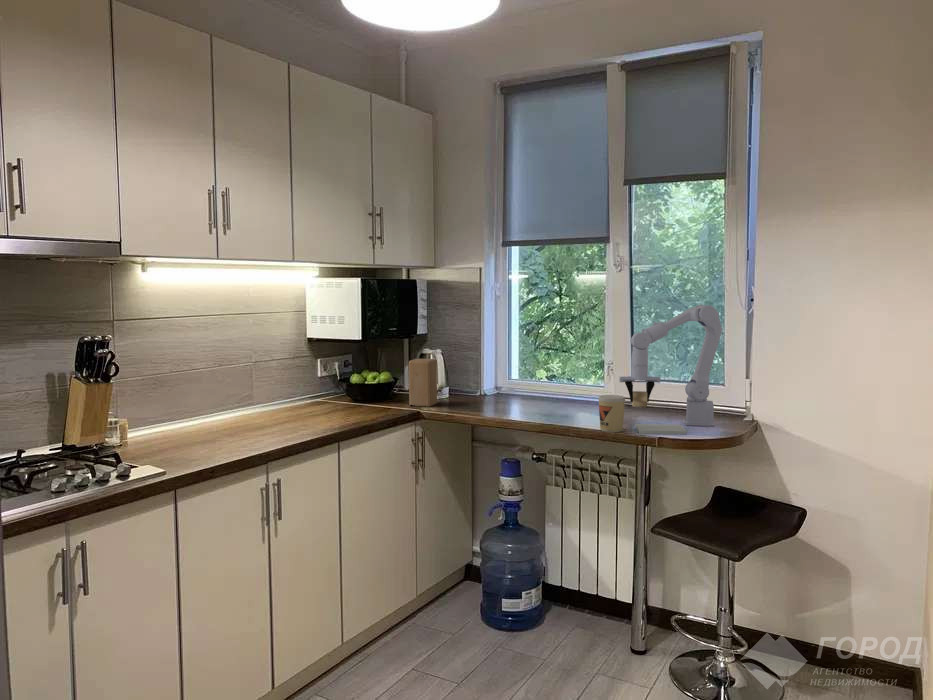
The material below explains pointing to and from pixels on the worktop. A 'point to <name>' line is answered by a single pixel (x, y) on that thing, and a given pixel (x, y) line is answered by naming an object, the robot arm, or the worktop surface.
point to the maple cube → (639, 399)
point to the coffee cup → (611, 412)
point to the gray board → (660, 429)
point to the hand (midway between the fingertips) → (639, 401)
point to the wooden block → (423, 382)
